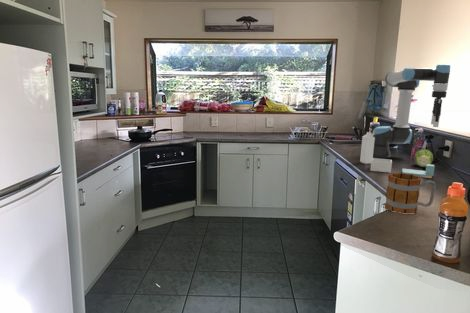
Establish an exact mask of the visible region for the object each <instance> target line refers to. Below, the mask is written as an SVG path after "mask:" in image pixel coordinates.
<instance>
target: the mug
mask: <svg viewBox="0 0 470 313" xmlns="http://www.w3.org/2000/svg"><path fill="white" fill-rule="evenodd" d="M387 176H388V177H387V178H388V182H387V188H386V194H385V197H386V199H385V206H384V209H386V210H387V211H389V210H392V211H396V212H401V213H416V214H417V212H418V206H422V207H425V208H426V207H431V205H432V204H433V202H434V198H435V195H436V194H435V193H436V190H437V186H436V182H435V181H432V180H431V179H429V180H428V179H427V180H425V181H424V182H422V178H423V177H421V176H417V175H413V174H406V173H402V172H391V173H390V172H389V174H388V175H387ZM421 182H422V183H421ZM428 184H432V188H431V192H430V196H429V197H430V198H429V201H428V203H424V202H421V201H420V202H419V198H420V197H419V196H420V191H421V190H420V188H421V187H422V188H423V187H425V186H426V185H428ZM416 211H417V212H416Z"/></svg>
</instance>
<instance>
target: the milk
mask: <svg viewBox="0 0 470 313" xmlns="http://www.w3.org/2000/svg"><path fill="white" fill-rule="evenodd" d="M361 137H362V138H361V139H362V140H361V146H360V147H361V149H360V159H359V162H360V163H362V164H371V160H372V158H374V157H373V150H374V140H375V138H374V135H372V133H371V132H369V131H366V134H364V135H362V136H361Z"/></svg>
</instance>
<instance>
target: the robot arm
mask: <svg viewBox="0 0 470 313" xmlns="http://www.w3.org/2000/svg"><path fill="white" fill-rule="evenodd" d="M450 73H451V64H437V65H436V66H435V68H434V67H433V68H432V67H431V68H429V67H425V68H424V67H419V68H418V67H405V68H404V69H403V70H395V71H394V70H393V71H389V72H388V73H386V75H385V77H384V82H385V83H386V85H387V86H390V87H392V88H397V90H398V92H399V93H398V94H399V95H398V96H399V97H398V101H397V110H396V117H395V123H394V124H393V125H392V127H391V126H390V125H388V126H387V125H382V126H376V127H375V128H374V130H373V137H374V138H375V140H374V150H373V158H378V159H390V158H391V151H390V148H389V147H390V144H398V145H399V144H400V145H404V144H408V143H409V142H410V141H411V140H412V138H413V130H412V129H411V127H410V125H409V120H410V110H411V104H412V97H413V92H415V91H416V88H418V87H419V86H420V81H424V82H425V81H431V82H433V84H432V86H431V87H432V92H431V97H432V98H434V100H433V108H432V112H431V113H432V114H431V121H430V125H432V128H439V123H440V118H441V113H442V105H443V104H442V103H443V99H445V98H447V93H448V92H447V90H448V85H449V80H450Z"/></svg>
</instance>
